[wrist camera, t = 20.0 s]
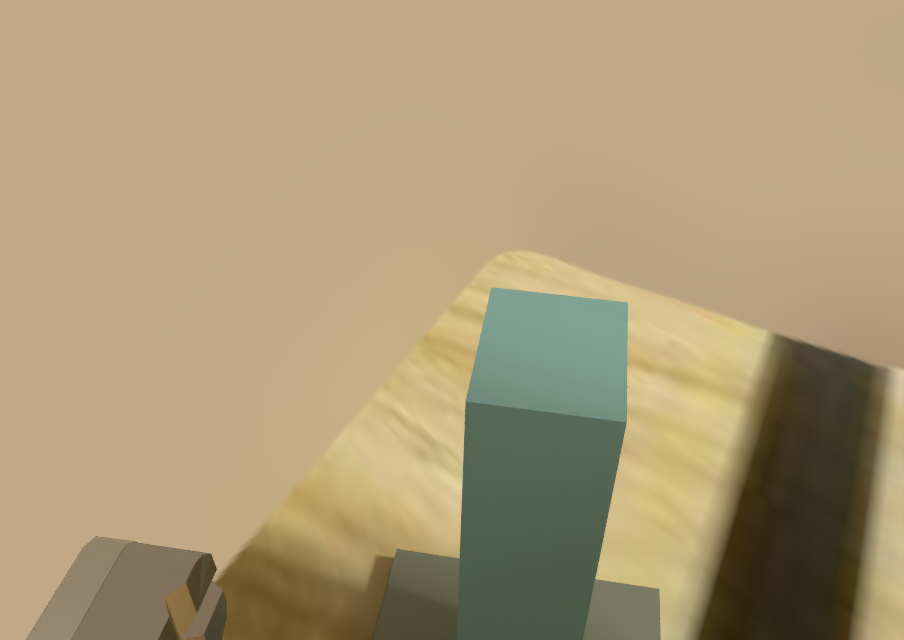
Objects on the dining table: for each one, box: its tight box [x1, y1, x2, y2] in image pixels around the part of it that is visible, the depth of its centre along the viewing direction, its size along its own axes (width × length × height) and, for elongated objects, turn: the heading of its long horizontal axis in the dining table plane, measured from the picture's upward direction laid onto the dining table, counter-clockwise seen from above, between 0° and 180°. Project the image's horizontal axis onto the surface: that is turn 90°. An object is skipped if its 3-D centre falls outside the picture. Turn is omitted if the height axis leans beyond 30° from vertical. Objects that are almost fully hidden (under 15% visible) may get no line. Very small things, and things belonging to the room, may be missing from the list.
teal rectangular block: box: [457, 287, 628, 640], centre depth 29 cm, size 5×4×18 cm
